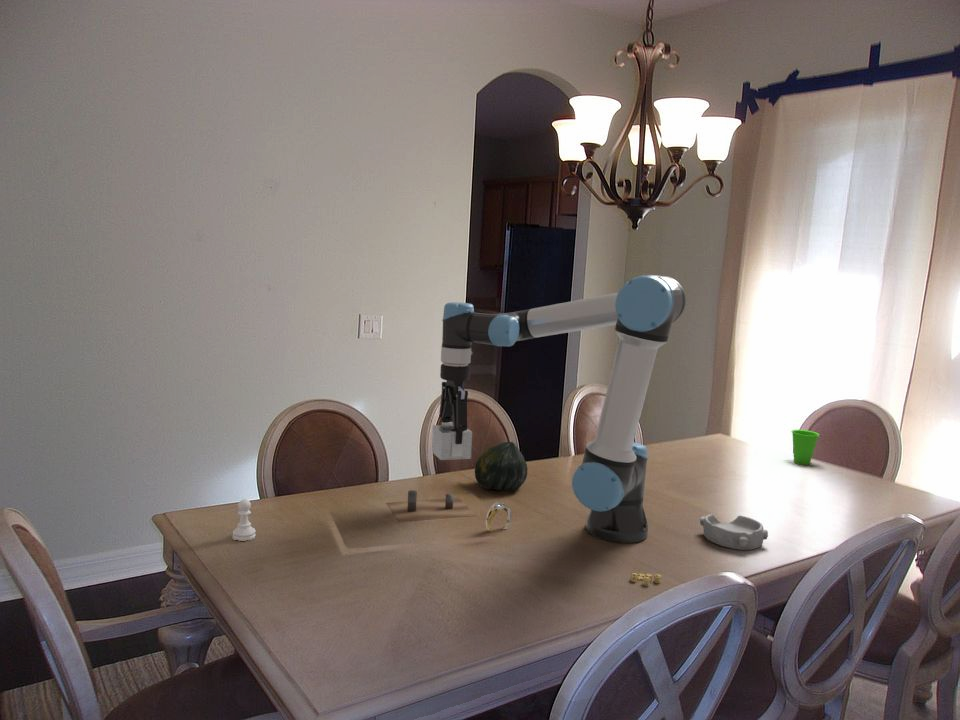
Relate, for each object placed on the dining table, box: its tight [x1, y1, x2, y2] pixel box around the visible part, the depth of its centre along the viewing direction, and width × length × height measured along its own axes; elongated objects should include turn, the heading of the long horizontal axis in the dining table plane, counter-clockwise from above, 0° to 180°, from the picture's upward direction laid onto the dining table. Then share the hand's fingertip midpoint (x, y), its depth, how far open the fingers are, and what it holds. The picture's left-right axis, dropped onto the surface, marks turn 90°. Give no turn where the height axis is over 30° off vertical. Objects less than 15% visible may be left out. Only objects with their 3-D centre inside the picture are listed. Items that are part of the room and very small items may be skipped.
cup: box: [790, 429, 820, 466], centre depth 256 cm, size 9×9×11 cm
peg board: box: [386, 489, 477, 523], centre depth 187 cm, size 14×20×6 cm
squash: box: [474, 441, 529, 492], centre depth 210 cm, size 14×15×15 cm
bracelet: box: [485, 501, 512, 533], centre depth 175 cm, size 7×3×8 cm, turn 121°
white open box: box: [431, 424, 473, 461], centre depth 186 cm, size 8×8×7 cm
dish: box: [699, 513, 769, 551], centre depth 179 cm, size 14×14×5 cm
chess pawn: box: [232, 499, 257, 541], centre depth 165 cm, size 5×5×9 cm
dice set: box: [630, 572, 662, 587], centre depth 154 cm, size 5×5×2 cm
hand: (451, 451), depth 187 cm, fingers closed on white open box, 8 cm apart
